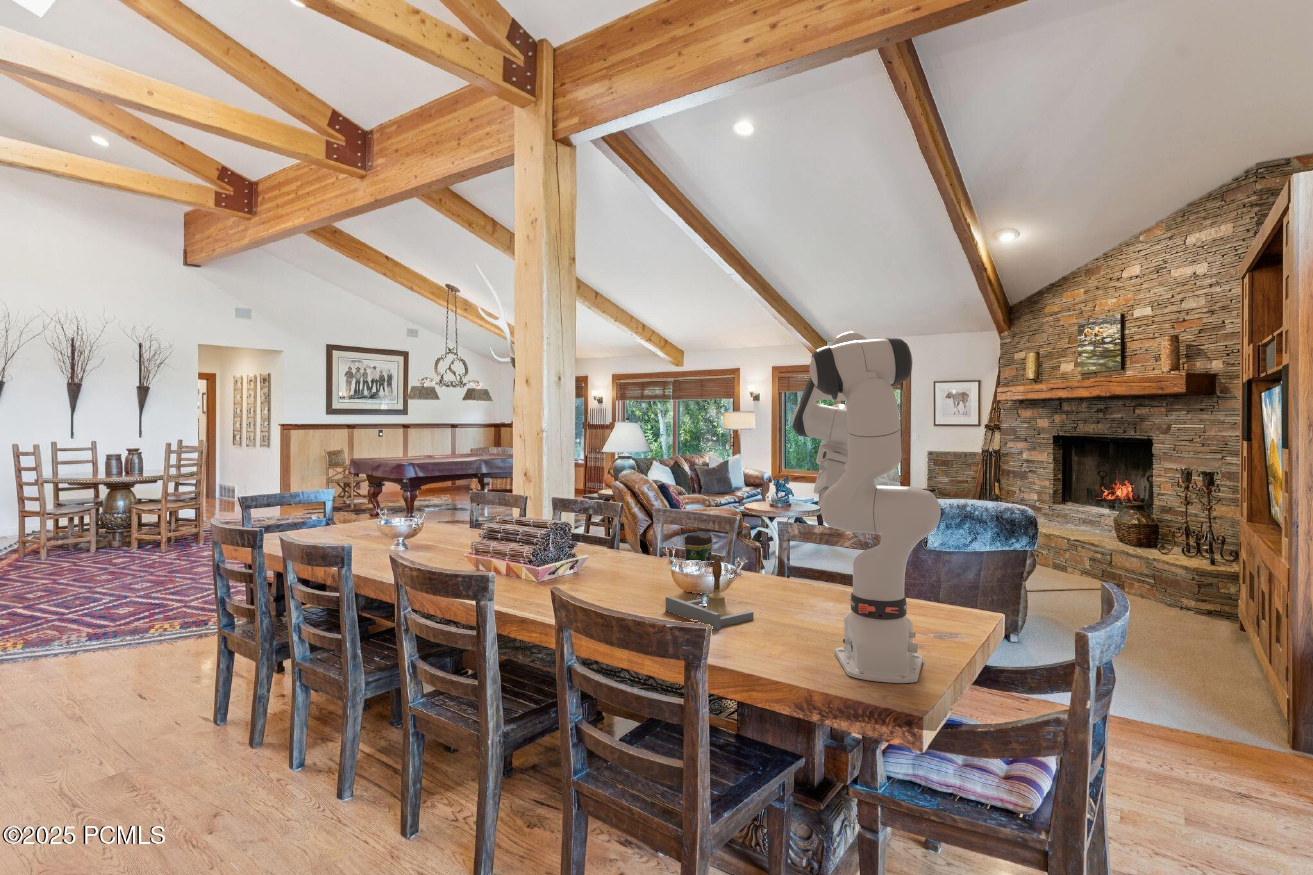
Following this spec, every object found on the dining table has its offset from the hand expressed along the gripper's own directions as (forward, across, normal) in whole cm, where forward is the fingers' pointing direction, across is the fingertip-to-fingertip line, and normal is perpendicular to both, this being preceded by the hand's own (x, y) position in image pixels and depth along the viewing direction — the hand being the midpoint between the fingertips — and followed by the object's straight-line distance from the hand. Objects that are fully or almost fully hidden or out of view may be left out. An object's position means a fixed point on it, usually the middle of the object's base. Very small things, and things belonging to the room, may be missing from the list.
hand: (821, 506), depth 189 cm
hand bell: (+37, -1, -21) cm, 43 cm away
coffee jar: (+32, -29, -27) cm, 51 cm away
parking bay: (+38, +1, -23) cm, 44 cm away
